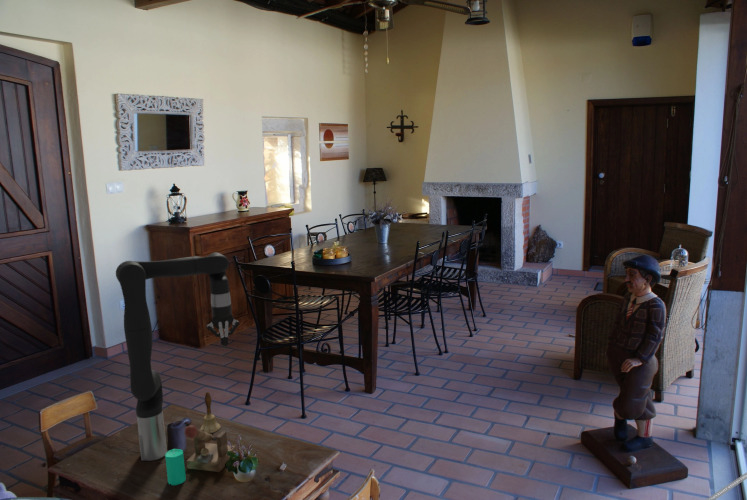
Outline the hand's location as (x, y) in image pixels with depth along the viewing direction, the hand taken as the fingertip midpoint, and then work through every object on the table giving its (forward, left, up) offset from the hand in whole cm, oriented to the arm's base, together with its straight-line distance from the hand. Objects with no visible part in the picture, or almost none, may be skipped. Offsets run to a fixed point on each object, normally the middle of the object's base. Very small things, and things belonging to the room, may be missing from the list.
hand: (224, 345), depth 230 cm
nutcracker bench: (-10, -19, -37) cm, 43 cm away
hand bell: (-8, +7, -37) cm, 39 cm away
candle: (-23, -27, -37) cm, 51 cm away
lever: (-10, -19, -28) cm, 35 cm away
